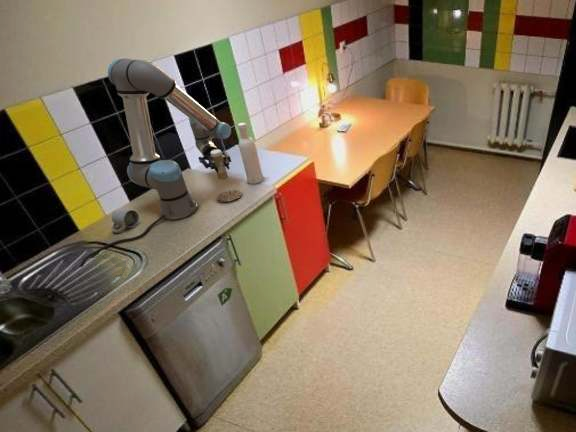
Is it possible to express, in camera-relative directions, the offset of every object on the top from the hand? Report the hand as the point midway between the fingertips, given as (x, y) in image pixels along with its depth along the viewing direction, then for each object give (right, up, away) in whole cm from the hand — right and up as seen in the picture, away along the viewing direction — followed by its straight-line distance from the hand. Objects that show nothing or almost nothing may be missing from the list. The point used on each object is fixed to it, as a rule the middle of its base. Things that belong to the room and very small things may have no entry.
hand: (222, 168), depth 187 cm
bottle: (+7, -3, +26) cm, 27 cm away
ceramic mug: (-40, -26, -5) cm, 48 cm away
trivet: (-1, -12, +12) cm, 18 cm away
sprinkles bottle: (-3, -4, +8) cm, 9 cm away
